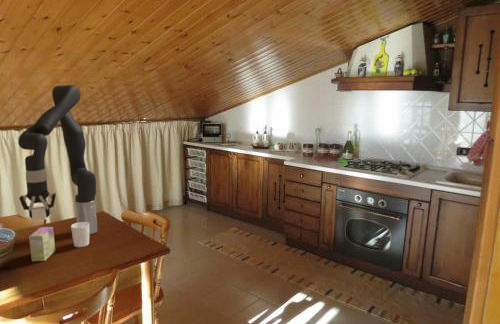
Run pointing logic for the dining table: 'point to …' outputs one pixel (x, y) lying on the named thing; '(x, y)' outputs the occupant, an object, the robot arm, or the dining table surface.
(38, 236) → the box
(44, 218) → the cube
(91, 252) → the dining table surface
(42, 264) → the dining table surface
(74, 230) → the white cup
